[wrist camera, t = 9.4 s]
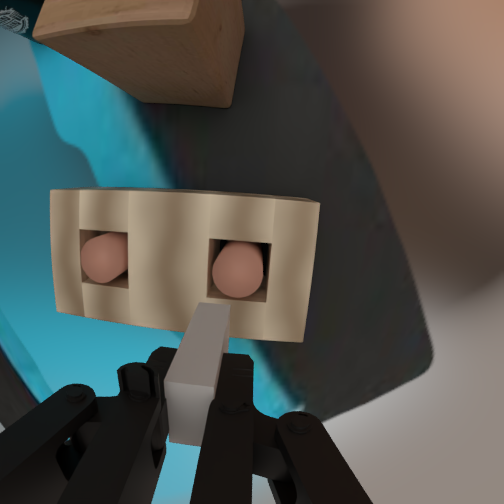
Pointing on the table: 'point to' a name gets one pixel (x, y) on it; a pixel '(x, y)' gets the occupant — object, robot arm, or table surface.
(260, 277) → the peg
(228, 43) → the wooden block
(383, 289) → the table surface
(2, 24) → the water bottle
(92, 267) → the peg
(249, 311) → the socket board
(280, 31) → the table surface
